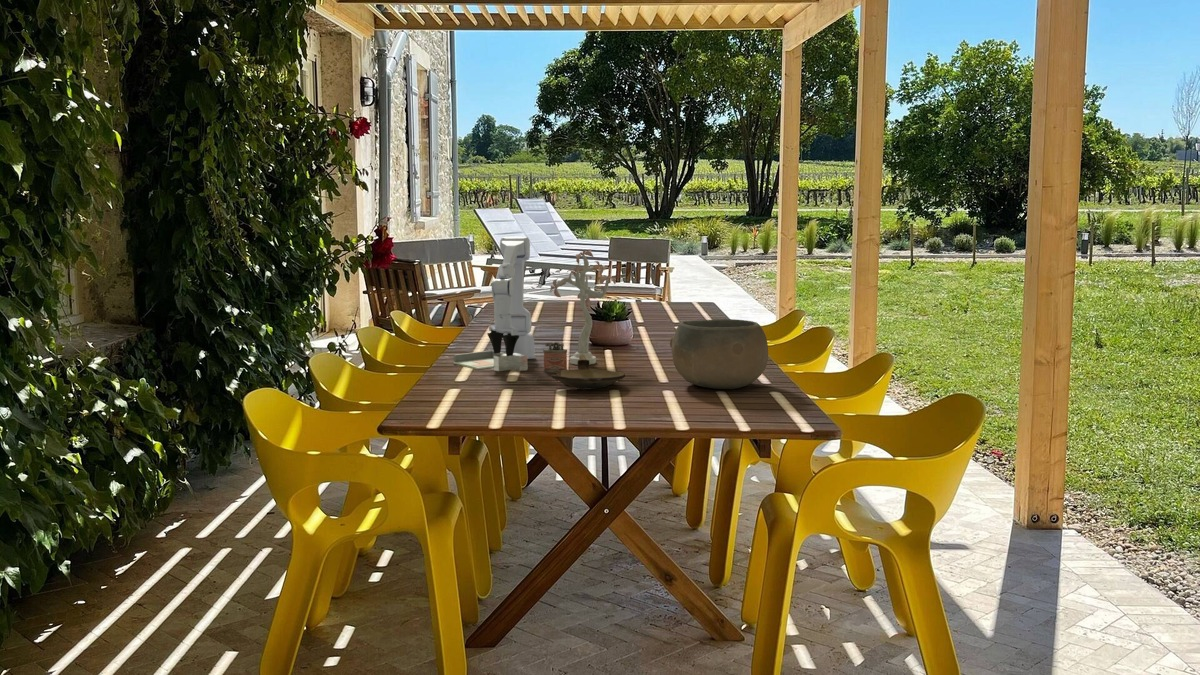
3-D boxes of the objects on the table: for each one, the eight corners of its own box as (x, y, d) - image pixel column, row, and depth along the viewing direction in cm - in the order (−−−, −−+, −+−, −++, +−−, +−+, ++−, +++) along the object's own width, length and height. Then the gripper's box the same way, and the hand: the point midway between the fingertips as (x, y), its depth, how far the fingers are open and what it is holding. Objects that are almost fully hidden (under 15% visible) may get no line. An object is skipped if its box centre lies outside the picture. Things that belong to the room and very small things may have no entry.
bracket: (515, 367, 342) (515, 352, 342) (527, 369, 337) (527, 355, 336) (493, 370, 337) (493, 355, 336) (505, 373, 331) (505, 358, 331)
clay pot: (655, 381, 315) (656, 319, 312) (739, 375, 325) (740, 314, 323) (697, 399, 288) (698, 331, 285) (787, 391, 298) (788, 325, 295)
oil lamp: (542, 394, 296) (541, 369, 295) (568, 376, 325) (568, 353, 324) (615, 397, 291) (615, 371, 290) (635, 379, 320) (636, 355, 319)
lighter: (568, 370, 335) (567, 341, 334) (566, 372, 332) (566, 342, 330) (544, 370, 336) (544, 341, 335) (542, 372, 333) (542, 342, 331)
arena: (492, 358, 360) (492, 350, 360) (517, 364, 348) (516, 355, 348) (453, 363, 351) (453, 354, 350) (477, 369, 338) (477, 360, 338)
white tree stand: (556, 355, 367) (554, 246, 362) (619, 356, 365) (619, 246, 360) (545, 368, 340) (543, 251, 334) (613, 369, 338) (613, 251, 332)
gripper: (481, 313, 338) (481, 353, 340) (504, 317, 327) (505, 358, 329) (498, 311, 342) (499, 351, 344) (522, 315, 331) (523, 355, 333)
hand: (503, 354), depth 337 cm, fingers open, 7 cm apart
